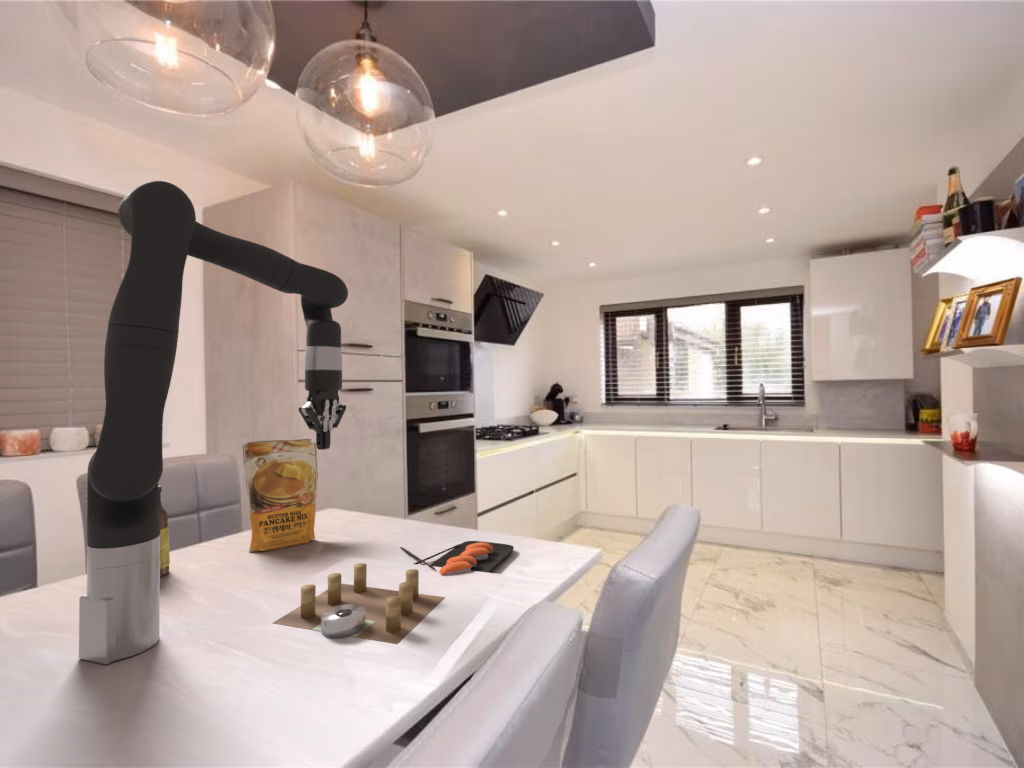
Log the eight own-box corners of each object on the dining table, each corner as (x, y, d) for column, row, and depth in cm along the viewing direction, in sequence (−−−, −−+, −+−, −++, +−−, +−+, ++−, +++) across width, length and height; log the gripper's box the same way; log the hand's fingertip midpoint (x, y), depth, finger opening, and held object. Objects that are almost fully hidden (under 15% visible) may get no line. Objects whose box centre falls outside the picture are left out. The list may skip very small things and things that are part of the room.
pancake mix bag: (239, 549, 127) (240, 441, 127) (315, 535, 139) (315, 437, 139) (244, 556, 122) (245, 443, 122) (322, 541, 134) (323, 438, 134)
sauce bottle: (164, 568, 113) (165, 482, 114) (173, 574, 109) (174, 485, 110) (129, 576, 108) (130, 486, 109) (137, 583, 104) (138, 490, 105)
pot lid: (350, 640, 77) (350, 624, 77) (312, 635, 79) (312, 619, 79) (373, 620, 84) (373, 605, 84) (337, 615, 86) (338, 601, 86)
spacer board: (397, 653, 77) (397, 611, 77) (272, 631, 83) (272, 593, 84) (445, 605, 94) (445, 571, 94) (338, 590, 101) (338, 558, 101)
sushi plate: (470, 597, 98) (471, 578, 98) (347, 578, 108) (347, 561, 108) (517, 552, 126) (517, 537, 126) (415, 540, 136) (415, 527, 136)
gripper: (317, 367, 98) (316, 453, 98) (357, 369, 110) (357, 446, 110) (286, 367, 100) (286, 452, 100) (329, 370, 113) (329, 445, 112)
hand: (323, 449), depth 105 cm, fingers closed
